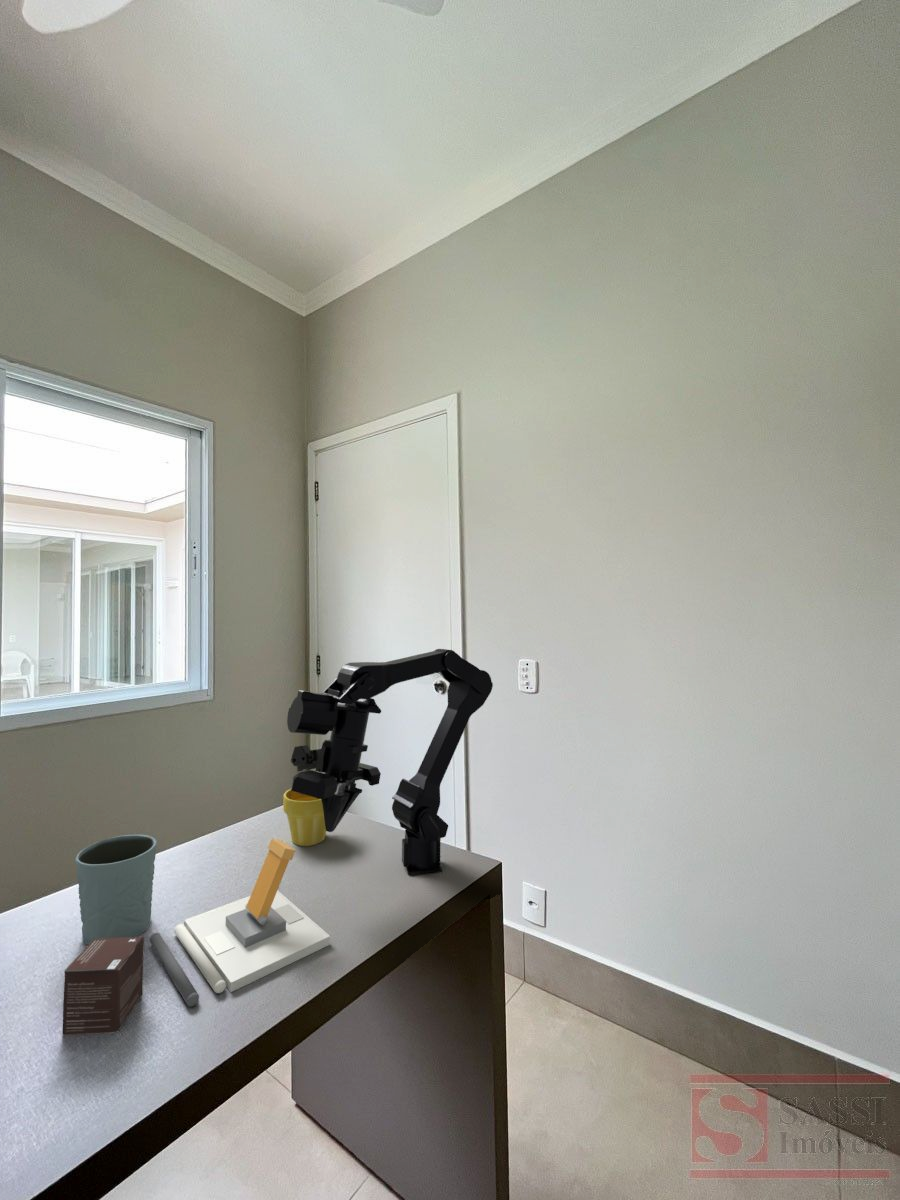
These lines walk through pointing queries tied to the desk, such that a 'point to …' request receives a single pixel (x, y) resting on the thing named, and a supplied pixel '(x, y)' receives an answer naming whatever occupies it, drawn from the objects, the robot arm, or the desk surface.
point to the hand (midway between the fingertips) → (329, 831)
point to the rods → (178, 973)
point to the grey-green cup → (116, 886)
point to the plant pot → (304, 818)
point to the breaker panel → (254, 939)
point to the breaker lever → (269, 880)
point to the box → (103, 986)
